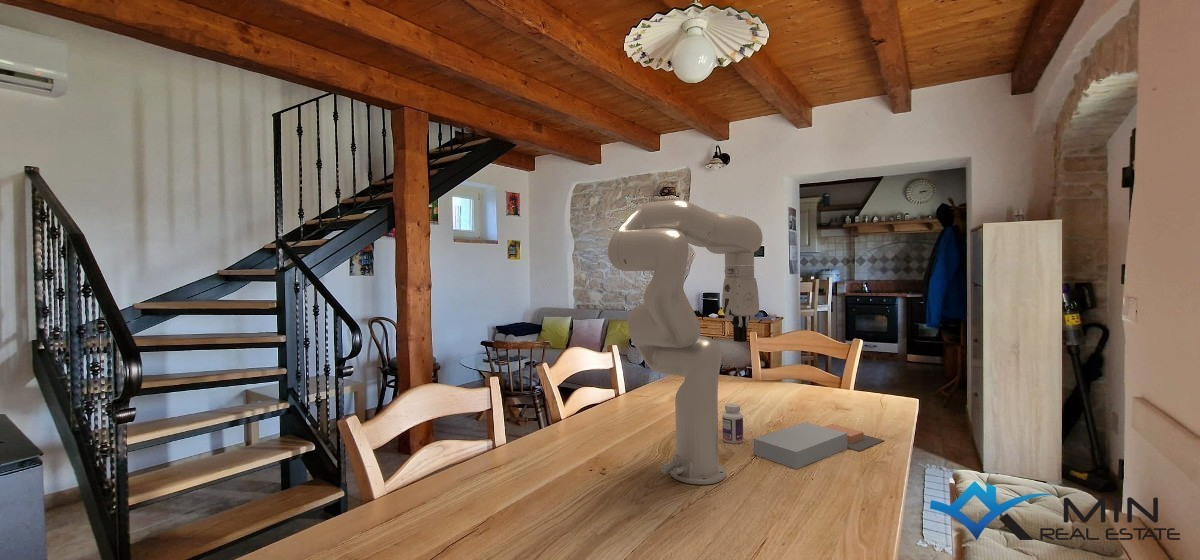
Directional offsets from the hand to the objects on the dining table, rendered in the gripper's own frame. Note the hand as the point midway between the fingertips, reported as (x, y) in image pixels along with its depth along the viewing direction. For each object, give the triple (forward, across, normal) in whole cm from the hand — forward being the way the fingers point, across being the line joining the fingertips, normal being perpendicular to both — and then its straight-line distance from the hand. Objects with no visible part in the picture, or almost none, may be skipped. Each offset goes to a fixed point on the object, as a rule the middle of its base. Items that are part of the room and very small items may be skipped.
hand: (740, 341), depth 137 cm
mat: (+27, +24, -16) cm, 39 cm away
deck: (+27, +6, -14) cm, 31 cm away
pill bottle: (+27, -1, +2) cm, 27 cm away
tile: (+25, +23, -15) cm, 37 cm away
